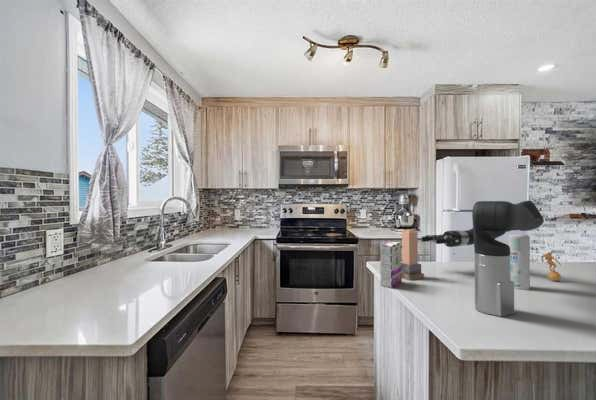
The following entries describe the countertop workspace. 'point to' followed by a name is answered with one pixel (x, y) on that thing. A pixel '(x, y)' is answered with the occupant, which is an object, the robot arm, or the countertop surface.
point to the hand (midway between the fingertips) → (429, 240)
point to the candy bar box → (390, 264)
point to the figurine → (553, 274)
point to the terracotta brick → (409, 247)
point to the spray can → (520, 261)
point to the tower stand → (411, 271)
